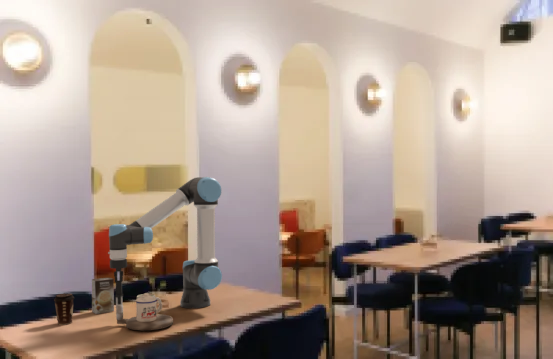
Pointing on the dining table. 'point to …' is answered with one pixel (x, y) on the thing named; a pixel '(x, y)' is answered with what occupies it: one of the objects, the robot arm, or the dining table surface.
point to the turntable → (133, 324)
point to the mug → (152, 296)
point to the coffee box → (102, 295)
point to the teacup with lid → (147, 308)
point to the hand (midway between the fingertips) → (119, 311)
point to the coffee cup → (64, 308)
